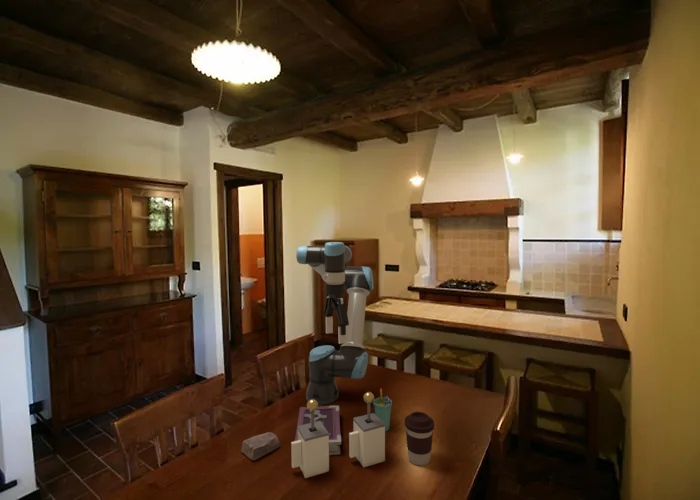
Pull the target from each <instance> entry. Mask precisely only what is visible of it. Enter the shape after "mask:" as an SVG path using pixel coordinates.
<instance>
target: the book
mask: <svg viewBox="0 0 700 500" xmlns="http://www.w3.org/2000/svg"><path fill="white" fill-rule="evenodd" d="M298 412H299V413H298V418H297V424H296V425H297V426H296V432H295V437H294V441H298V426H300V425H305V424H309V423H311V411H310V410H308V408H307V406H306V407H305V406H301V407H299V411H298ZM340 420H341V419H340V405H329V406H328V405H326V406H323V405H322V406H318V408H317V409H316V410H315V411H314V422H317V421H321V422H322V424H323V425H324V427H325V428H326V430H327V431H328V433H329V456H337V455H338V456H339V455H341V448H340V447H341V446H340V445H342V435H341V425H340V424H341V423H340Z"/></svg>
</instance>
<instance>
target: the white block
mask: <svg viewBox="0 0 700 500" xmlns="http://www.w3.org/2000/svg"><path fill="white" fill-rule="evenodd" d="M352 423H353V424H352V426H353V429H352V430H353V431H351V432H348V443H349V445H348V449H349V451H348V452H349V453H348V456H349V458H350V459H352V458H356V459H357V460H358V462H359V463H360V465H361V466H362V467H363V468H367V467H369V466H373V465H376V464H379V463H383V462H386V431H385V424H384V423H383V422H382V421H381V420H380V419H379V418H378V417H377V416H376V415H375V412H373V413H370V423H368V424H367V414H364V415H360V416H355V417H353V422H352Z"/></svg>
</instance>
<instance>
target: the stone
mask: <svg viewBox="0 0 700 500" xmlns="http://www.w3.org/2000/svg"><path fill="white" fill-rule="evenodd" d="M280 447H281V442H280V440H279V437H278V435H276V433H275V434H274V433H273V432H265V433H262V434H257V435H253V436H251V437H249V438H247V439H245V440H243V441H242V443H241V453H242V454H244V455H245V456H246V457H247V458H248V459H249V460H251V461H256V460H259V459H260V458H262V457H263V456H265V455H267V454H269V453H271V452H274V451H275V450H277V449H278V448H280Z"/></svg>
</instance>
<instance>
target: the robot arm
mask: <svg viewBox="0 0 700 500" xmlns="http://www.w3.org/2000/svg"><path fill="white" fill-rule="evenodd" d="M352 256H353V252H352V250H351V249H350V247H349V246H347V245H345V243H344V242H342V241H341V242H340V241H329V242H325V243H324V245H300V246H299V247H297V249H296V253H295V257H296V262H297V263H298V264H299V265H308V266H310V267H311V268H312V269H313V270H314V271H315V272H317V274H319V275H320V276H321V279H322V280H323V281H324V282H325V285H324V292H325V300H324V301H325V302H324V306H323V315H324V316H325V334H328V335H329V334H333V333H334V326H333V325H334V319H333V317H334V311H335V313H336V317H337V320H338V321H337V322H338V325H337V327H338V328H337V329H338V330H337V331H338V337H337V338H338V344H339V345H340V344H341V345H340V346H339V350H336V348H335V346H333V345H330V344H329V345H327V344H326V345H320V346H317V347H314V348H312V349H311V350H310V351H309V359H308V361H309V382H308V384H307V385H308V386H307V389H306V393H305V399H306V401H307V402H308V401H309V400H311V399H314V400H316V401H317V402H318V405H322V406H323V405H328V404H332V403H334V402H336V401H337V400H338V399H339V395H340V393H339V388H338V386H337V382H336V378H343V379H352V380H354V379H355V380H360V379H363V378H364V377H365V374H366V372H367V367H368V363H369V354H368V352H367V351H366V349H365V346H364V345H363V340H364V339H363V338H364V327H365V319H366V318H365V317H366V316H365V315H366V306H367V297H368V296H369V295H370V293H371V291H373V290H374V285H375V284H374V275H373V270H372V268H371V267H369V266H363V265H362V266H348V265H346V264H348V263H349V262H350V261H351V259H352ZM345 265H346V266H345ZM345 293H347V294H348V303H347V304H348V305H347V307H346V298H344V297H342V295H343V294H345Z"/></svg>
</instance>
